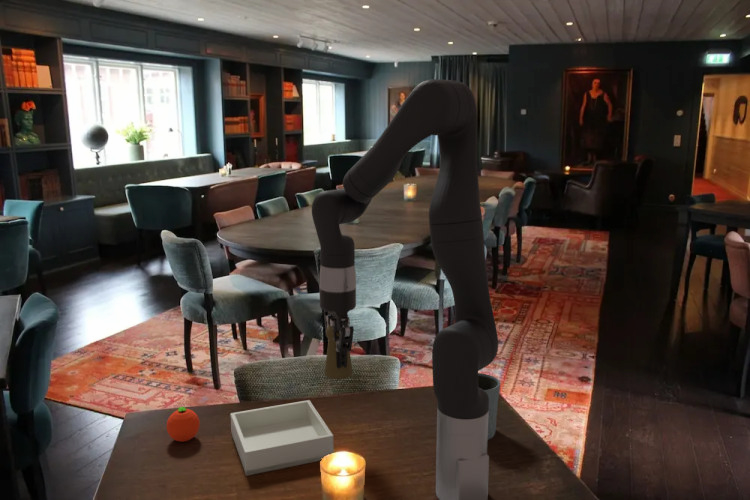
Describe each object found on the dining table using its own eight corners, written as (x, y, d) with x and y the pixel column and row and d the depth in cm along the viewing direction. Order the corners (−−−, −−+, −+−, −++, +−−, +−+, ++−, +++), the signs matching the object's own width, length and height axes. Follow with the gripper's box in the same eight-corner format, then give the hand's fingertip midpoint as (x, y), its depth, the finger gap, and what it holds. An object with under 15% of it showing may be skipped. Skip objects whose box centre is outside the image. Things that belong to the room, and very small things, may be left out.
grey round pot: (465, 445, 134) (466, 393, 132) (445, 424, 144) (446, 375, 141) (507, 438, 137) (509, 386, 135) (485, 417, 147) (486, 369, 144)
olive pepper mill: (348, 380, 131) (348, 329, 128) (320, 377, 132) (320, 327, 130) (355, 369, 136) (355, 320, 134) (329, 366, 138) (328, 318, 135)
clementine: (165, 433, 140) (163, 403, 139) (197, 427, 143) (195, 398, 141) (169, 450, 133) (167, 419, 131) (202, 443, 136) (200, 413, 134)
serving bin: (333, 457, 130) (333, 435, 129) (246, 475, 123) (245, 452, 122) (309, 419, 146) (309, 400, 145) (231, 434, 140) (230, 413, 139)
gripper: (366, 293, 125) (366, 373, 128) (344, 276, 138) (344, 349, 141) (330, 296, 122) (330, 379, 126) (311, 279, 135) (312, 354, 139)
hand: (338, 363), depth 134 cm, fingers closed on olive pepper mill, 4 cm apart
